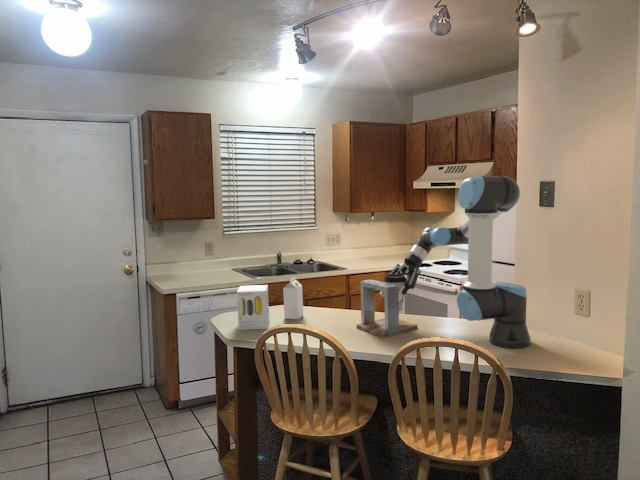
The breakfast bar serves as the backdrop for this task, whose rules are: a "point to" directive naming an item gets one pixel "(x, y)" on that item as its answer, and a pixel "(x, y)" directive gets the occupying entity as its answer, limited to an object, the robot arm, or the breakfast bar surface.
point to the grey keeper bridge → (390, 304)
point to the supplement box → (253, 307)
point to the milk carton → (293, 300)
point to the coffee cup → (396, 280)
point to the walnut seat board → (379, 327)
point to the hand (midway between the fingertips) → (389, 297)
